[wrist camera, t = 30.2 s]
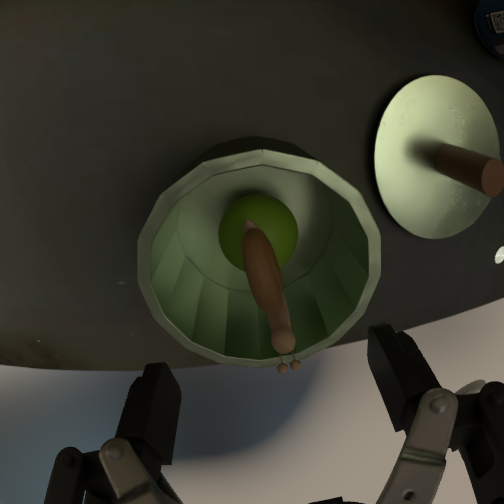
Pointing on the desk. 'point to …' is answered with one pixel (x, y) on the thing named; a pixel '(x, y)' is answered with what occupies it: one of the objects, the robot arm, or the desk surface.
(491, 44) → the soda can
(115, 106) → the desk surface
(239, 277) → the pot
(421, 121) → the pot lid
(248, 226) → the snail figurine
